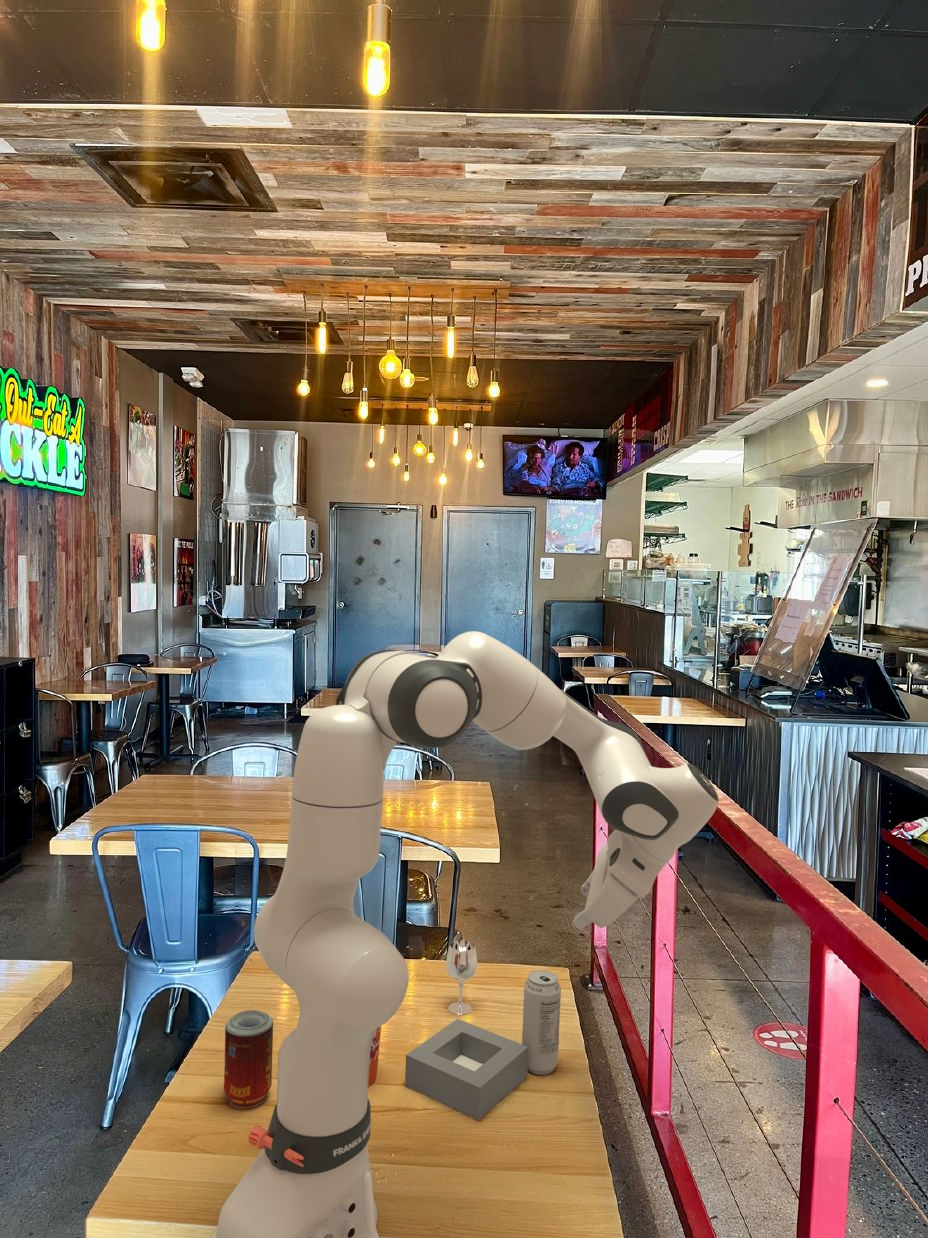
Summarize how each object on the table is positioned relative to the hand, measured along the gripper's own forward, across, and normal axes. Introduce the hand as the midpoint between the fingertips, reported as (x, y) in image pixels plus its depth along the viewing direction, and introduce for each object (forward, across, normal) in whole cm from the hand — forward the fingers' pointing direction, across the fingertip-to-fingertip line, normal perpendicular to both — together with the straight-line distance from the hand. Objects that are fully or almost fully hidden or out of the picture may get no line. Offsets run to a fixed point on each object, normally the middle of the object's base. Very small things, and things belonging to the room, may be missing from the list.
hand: (580, 908), depth 134 cm
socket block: (+31, +10, +3) cm, 33 cm away
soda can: (+48, +25, -23) cm, 58 cm away
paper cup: (+41, +15, -10) cm, 45 cm away
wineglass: (+39, -11, 0) cm, 40 cm away
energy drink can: (+26, +3, +12) cm, 29 cm away
